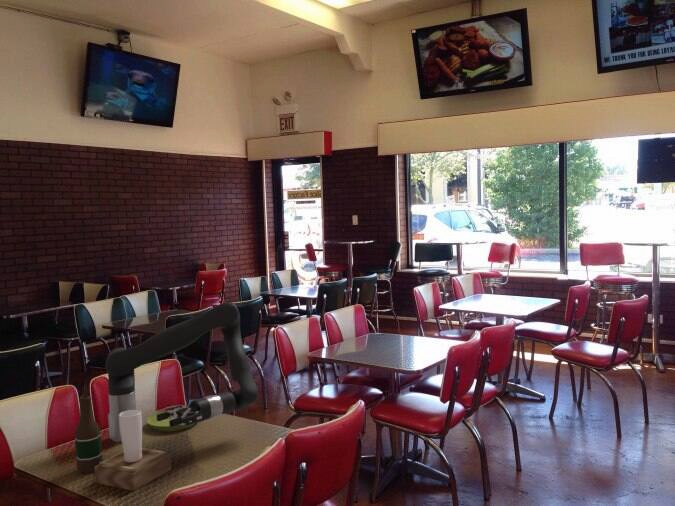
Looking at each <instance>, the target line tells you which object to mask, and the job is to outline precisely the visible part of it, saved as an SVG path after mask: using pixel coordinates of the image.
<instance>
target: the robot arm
mask: <svg viewBox="0 0 675 506" xmlns="http://www.w3.org/2000/svg"><path fill="white" fill-rule="evenodd" d="M218 328H219V329H220V332H221V333H222V336H223V338H224V342H225V348H226V357H227V363H228V368H229V372H230V377H231V380H232V381H233V382H234V383H238V385H239V389H236V390H234V391H232V392H231V391H230V392H229V391H226V392H221V393H217V394H213V395H207V396H205V397H200V398H197V399H194V400H191V401H190V403H189V406H183V405H182V404H180V405H176V406H172V407H168V408H166V409H165V411H166V412H164V413H161V414H157V416H156V417H157V421H162V420H165V419H169V418H174V419H172V420H170V421H169V426H170V427H174V426H177V425H180V424H182V425H184V424H186V425H191V424H193V423H195V424H197V423H200V422H201V423H202V422H204V421H206V420H207V421H208V420H210V419H214V418H215V417H218V416H220V415H224V414H226V413H229V412H235V411H238V410H239V411H240V410H244V409H247V408H248V407H250V406H251V405H252V404H255V403H256V402H257V400H258V398H259V392H260V391H259V388H258V386H257V384H256V381H255V380H254V377H253V376H252V373H251V370H250V365H249V362H248V357H247V354H246V350H245V347H244V344H243V339H242V334H241V315H240V311H239V308H238V307H237V305H236V304H235V303H233V302H229V301H225V302H222V303H220V304H217V305H215V306H213V307H212V308H210V309H209V310H207V311H205V312H203V313H201V314H199V315H197V316H193V317H191V318H189V319H186V320H184V321H182V322H179V323H176V324H174V325H172V326H169V327H167V328H164V329H163V330H161V331H159V332H157V333H155V334H154V335H152V336H151V337H149V338H148V339H146V340H144V341H143V342H141V343H139V344H137V345H134V346H132V347H129V348H127V347H117V348H114V349H112V350H111V351H110V352H109V353H108V355H107V358H106V360H105V362H104V363H105V365H104V366H105V370H106V372H107V377H108V378H107V379H108V381H107V382H108V383H107V391H108V392H107V393H108V404H109V413H107V418H108V419H107V420H108V430H109V431H108V432H109V433H108V434H109V439H110V440H111V441H112V442H116V443H122V440H121V434H120V427H119V414H120V413H122V412H124V411H128V410H137V400H136V398H137V397H136V386H135V385H136V382H135V381H136V379H135V377H136V375H135V369H137V368H140V367H141V366H143V365H145V364H147V363H149V362H151V361H154V360H157V359H160V358H163V357H165V356H167V355H170V354H173V353H175V352H178V351H180V350H182V349H185V348H187V347H188V346H190V345H192V344H193V343H195V341H197V340H199V338H200V337H202V336H203V335H205V334H206V333H208V332H210V331H212V330H216V329H218ZM171 412H172V413H171ZM170 413H171V414H170ZM177 414H178V416H177ZM173 415H174V416H173ZM190 421H191V422H190Z"/></svg>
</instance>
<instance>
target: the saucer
mask: <svg viewBox="0 0 675 506" xmlns="http://www.w3.org/2000/svg"><path fill="white" fill-rule="evenodd" d="M164 412H166V410H163V411H159V412H156V413H154V414H152V415H150V416H149V417H148V418H147V419H146V422H147V425H149V427H151V429H154V430H155V431H159V432H177V430H178V431H182V430H186V429H188V427H189V428H190V427H193V426H194V425H196V423H193V424H191V425H186V424H184V425H182V424H180V425H177V426H174V427H170V426H169V421H170V420H172V419H174V418H171V419H165V420H162V421H157V417H156V416H157V414H161V413H164ZM171 413H172V412H171ZM171 413H170V414H171ZM173 416H174V415H173ZM177 416H178V414H177ZM190 422H191V421H190ZM185 428H186V429H185Z"/></svg>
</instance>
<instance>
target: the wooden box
mask: <svg viewBox="0 0 675 506" xmlns="http://www.w3.org/2000/svg"><path fill="white" fill-rule="evenodd" d="M171 458H172V456H171V453H167V451H163V450H158V449H152V448H145V447H142V458H141V460H139V461H137V462H133V463H127V462H125V460H124V452H123V450H122V451H120V452H118V453H116V454H114V455H112V456H110V457H108V458H105V459H104V460H103V461H102V462H100V463H99V465H97V466H95V467H94V469H95V472H94V481H95V484H100V485H104V486H105V485H106V486H109V487H114V488H119V489H124V490H127V491H128V490H129V491H133V492H135V491H137V490H139V489H140V488H143V487H145V486H146V485H147V484H149V483H150V482H153V481H154V480H156V479H157V478H159V477H161V476H162V475H164V474H166V473H167V472H169V471H171V470H172V459H171Z"/></svg>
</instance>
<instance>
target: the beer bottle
mask: <svg viewBox="0 0 675 506" xmlns="http://www.w3.org/2000/svg"><path fill="white" fill-rule="evenodd" d="M78 402H79V422H78V424H77V426H76V427H75V431H74V444H75V458H76V468H77V469H76V470H77V471H78V473H80V474H82V473H83V474H92V473H95V469H94V467H95V466H97V465H99V463H100V462H102V461H104V460H103V448H102V446H103V445H102V433H101V428H100V426H99V424H98V423H97V421H95V419H94V414H93V408H92V397H91V396H90V395H82V396H80V397H79V398H78Z"/></svg>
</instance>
